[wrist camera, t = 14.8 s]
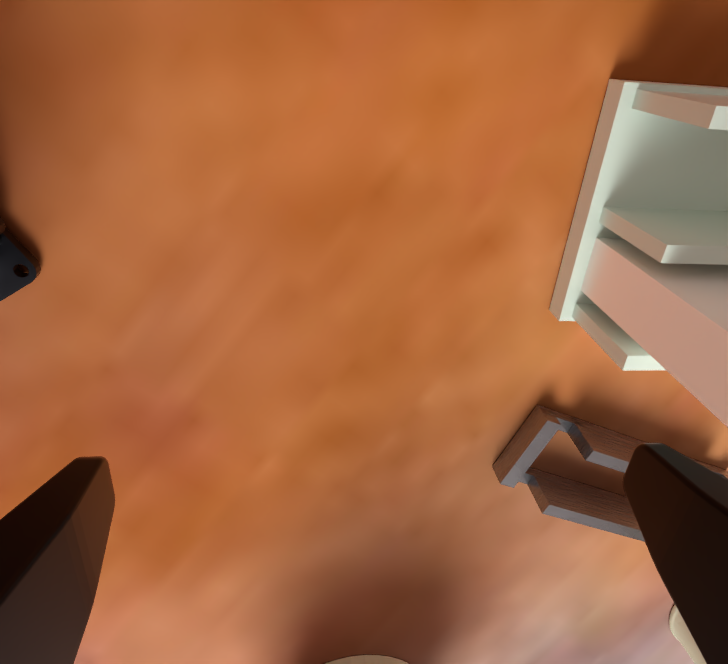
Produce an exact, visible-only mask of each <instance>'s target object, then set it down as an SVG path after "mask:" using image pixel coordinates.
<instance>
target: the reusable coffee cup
mask: <svg viewBox="0 0 728 664" xmlns="http://www.w3.org/2000/svg"><path fill="white" fill-rule="evenodd" d="M326 664H408V663H407V662H405V661H403V660H400V659H396V658H393V657H388V656H381V655H360V656H351V657H346V658H342V659H337V660H334V661H331V662H328V663H326Z"/></svg>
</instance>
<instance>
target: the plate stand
mask: <svg viewBox="0 0 728 664" xmlns="http://www.w3.org/2000/svg"><path fill="white" fill-rule="evenodd" d="M558 430H560V431H563V432H566V433H568V435H569V436H570V438H571V439H572V441H573V442H574V444H575V445H576V447H577V448H578V450H579V451H580V453H581V454H582V455H583V457H584V458H585V460H586V461H589V462H593V463H596V464H599V465H602V466H605V467H608V468H611V469H614V470H617V471H621V472H624V473H625V471H626V469H627V467H628V464H629V462H630V459H631V457H632V454H633V452H634V449H635V448H636V447H637V446H638V445H639V444H642V443H646V442H643V441H640V440H638V439H635V438H632V437H629V436H626V435H623V434H620V433H618V432H615V431H612V430H609V429H606V428H603V427H600V426H597V425H595V424H592V423H589V422H586V421H583V420H580V419H577V418H575V417H572V416H569V415H566V414H563V413H560V412H557V411H555V410H552V409H549V408H546V407H543V406H540V405H537V406H536V407H535V408H534V410H533V411H532V413H531V414H530V415H529V417H528V418H527V419H526V421H525V422H524V424H523V425H522V426H521V428H520V429H519V430H518V432H517V433H516V435H515V436H514V437H513V439H512V440H511V441H510V443H509V444H508V446H507V447H506V448H505V450H504V451H503V452H502V454H501V455H500V457H499V458H498V459H497V461H496V462H495V463H494V465H493V466H492V467H493V469H494V471H495V474H496V476H497V478H498V480H499V482H500V484H502V485H506V486H509V487H513V488H514V487H515V485H516V484H517V483H518V482H522V483H525V484H527V485H528V486H529V488H530V490H531V492H532V494H533V496H534V498H535V500H536V502H537V504H538V506H539V508H540V510H541V512H542V513H543V514H546V515H550V516H554V517H557V518H561V519H564V520H568V521H572V522H575V523H579V524H583V525H586V526H590V527H594V528H597V529H601V530H604V531H608V532H612V533H615V534H619V535H623V536H626V537H630V538H633V539H637V540H641V541H644V542H645V540H644V538H643V535H642V533H641V530H640V528H639V526H638V523H637V521H636V518H635V516H634V514H633V511H632V509H631V506H630V504H629V501H628V499H627V497H625V496H622V495H619V494H616V493H612V492H609V491H606V490H602V489H599V488H596V487H593V486H589V485H586V484H583V483H579V482H576V481H573V480H570V479H566V478H563V477H560V476H556V475H553V474H550V473H547V472H543V471H540V470H537V469H533V468H530V466H531V465H532V463H533V462H534V461H535V459H536V458H537V457H538V455H539V454H540V453H541V451H542V450H543V449H544V448H545V446H546V445H547V444H548V442H549V441H550V440H551V438H552V437H553V436H554V435H555V433H556V432H557V431H558ZM688 458H689V457H688ZM690 459H692V458H690ZM692 460H693V461H695V462H697V463H699V464H701V465H702V466H704V467H706V468H708V469H710V470H711V471H713V472H715V473H717V474H718V475H720V476H722V477H724V478H726V479H727V480H728V471H726V470H723V469H721V468H718V467H715V466H712V465H709V464H706V463H703V462H701V461H698V460H695V459H692Z"/></svg>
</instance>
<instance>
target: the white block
mask: <svg viewBox="0 0 728 664" xmlns="http://www.w3.org/2000/svg"><path fill="white" fill-rule="evenodd" d="M581 291H582V292H583V293H584V294H585V295H586V296H587V297H588V298H590V299H591V300H592V301H593V302H594V303H595V304H596V305H597V306H598V307H599V308H600V309H601V310H602V311H603V312H605V313H606V314H607V315H608V316H609V317H610V318H611V319H612V320H613V321H614V322H615V323H616V324H617V325H618V326H620V327H621V328H622V329H623V330H624V331H625V332H626V333H627V334H628V335H629V336H630V337H631V338H632V339H633V340H635V341H636V342H637V343H638V344H639V345H640V346H641V347H642V348H643V349H644V350H645V351H646V352H647V353H648V354H650V355H651V356H652V357H653V358H654V359H655V360H656V361H657V362H658V363H659V364H660V365H661V366H662V367H663V368H665V369H666V370H667V371H668V372H669V373H670V374H671V375H672V376H673V377H674V378H675V379H676V380H677V381H678V382H680V383H681V384H682V385H683V386H684V387H685V388H686V389H687V390H688V391H689V392H690V393H691V394H692V395H693V396H695V397H696V398H697V399H698V400H699V401H700V402H701V403H702V404H703V405H704V406H705V407H706V408H707V409H708V410H710V411H711V412H712V413H713V414H714V415H715V416H716V417H717V418H718V419H719V420H720V421H721V422H722V423H723V424H725V425H726V426H727V427H728V265H717V264H673V263H660V262H658V261H657V260H655V259H654V258H652V257H651V256H649V255H647V254H646V253H644V252H643V251H641V250H640V249H638V248H637V247H635V246H634V245H632V244H631V243H629V242H628V241H626V240H625V239H619V238H596V240H595V243H594V247H593V250H592V253H591V257H590V260H589V263H588V267H587V270H586V274H585V277H584V280H583V284H582V287H581Z"/></svg>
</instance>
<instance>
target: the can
mask: <svg viewBox="0 0 728 664" xmlns="http://www.w3.org/2000/svg"><path fill="white" fill-rule="evenodd" d="M669 625H670V629H671V632H672V634H673V635H674V636H675V638H676V639H677V640H679V641H680V643H681V644H682V646H683V647H684V648H685V650H686V651H687V653H688V654H689V656H690V657H691V659H692V660H693V662H694V663H695V664H706V662H705V660H704V658H703V656H702V654H701V652H700V650H699V648H698V647H697V645H696V643H695V641H694V639H693V637H692V635H691V633H690V632H689V630H688V628H687V626H686V624H685V622H684V620H683V618H682V616H681V615H680V613H679V611H678V609H677V607H676V605H674V606H673V608H672V611H671V613H670V618H669Z"/></svg>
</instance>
